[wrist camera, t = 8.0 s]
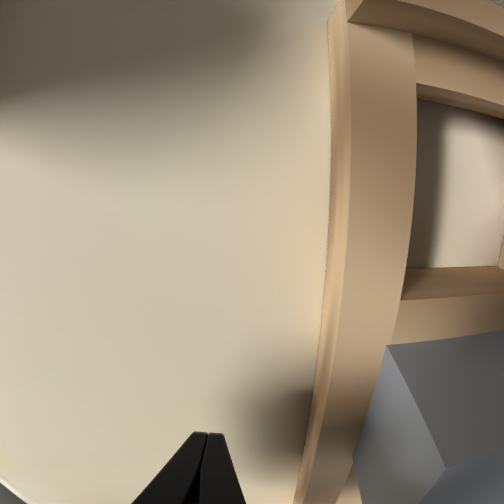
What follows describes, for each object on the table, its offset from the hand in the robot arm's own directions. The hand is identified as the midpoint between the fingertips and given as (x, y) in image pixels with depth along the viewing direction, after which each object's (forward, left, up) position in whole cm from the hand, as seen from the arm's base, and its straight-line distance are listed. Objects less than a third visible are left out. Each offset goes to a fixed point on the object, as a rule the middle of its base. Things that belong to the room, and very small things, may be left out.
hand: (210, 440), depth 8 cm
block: (0, -7, -1) cm, 7 cm away
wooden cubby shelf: (0, -11, -3) cm, 12 cm away
